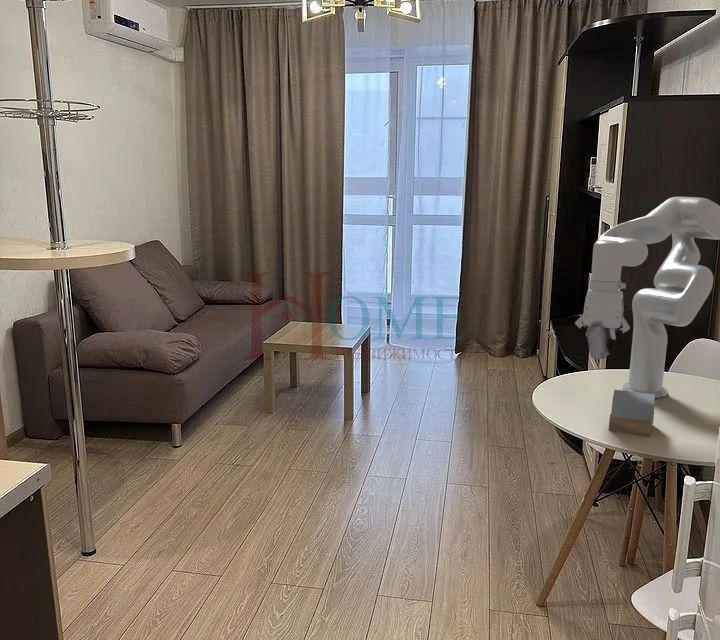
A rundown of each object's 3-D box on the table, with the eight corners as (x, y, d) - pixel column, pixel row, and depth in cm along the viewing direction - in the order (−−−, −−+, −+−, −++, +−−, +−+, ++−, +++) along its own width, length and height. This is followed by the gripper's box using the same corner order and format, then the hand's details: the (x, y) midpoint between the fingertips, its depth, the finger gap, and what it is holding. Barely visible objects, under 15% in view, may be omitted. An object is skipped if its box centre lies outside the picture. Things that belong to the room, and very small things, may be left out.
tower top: (613, 405, 190) (614, 389, 189) (652, 410, 186) (654, 394, 185) (611, 416, 182) (612, 399, 181) (652, 421, 178) (654, 405, 177)
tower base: (613, 420, 191) (614, 405, 190) (652, 427, 186) (654, 411, 185) (608, 432, 183) (609, 415, 182) (649, 438, 179) (651, 422, 178)
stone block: (596, 352, 201) (599, 318, 199) (613, 355, 198) (616, 320, 196) (582, 362, 192) (584, 326, 189) (599, 365, 189) (602, 328, 187)
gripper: (640, 286, 189) (634, 351, 194) (575, 281, 197) (571, 344, 201) (636, 291, 183) (631, 358, 187) (570, 286, 191) (566, 350, 195)
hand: (600, 350), depth 194 cm, fingers closed on stone block, 4 cm apart
